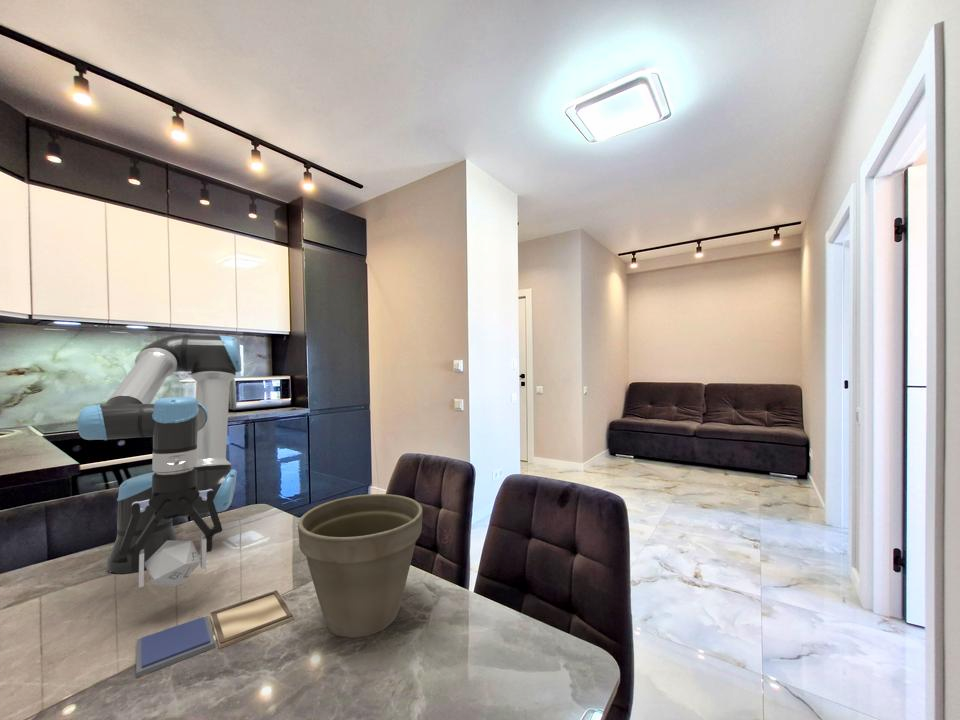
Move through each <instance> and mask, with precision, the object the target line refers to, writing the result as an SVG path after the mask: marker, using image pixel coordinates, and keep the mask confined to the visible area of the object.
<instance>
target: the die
mask: <svg viewBox="0 0 960 720" xmlns="http://www.w3.org/2000/svg"><path fill="white" fill-rule="evenodd" d="M201 562H202V560H201V555H200V554H199V552H198V551H197V549H196V546H195V544H194V543H193V540H178V541H169V540H167V541H166V542H165V543H164V544H163V545H162V546H161V547H160V548H159V549H158V550H157V551H156V552H155V553H154V554H153V555H152V556H151V557H150V558H149V559H148V560H147V561H146V562H145V563H144V565H145V567H146V569H145V570H146V571H147V573H148V575H149V577H150V579H151V580H152V583H153V585H154V586H181V585H182V584H183V583H184V582H185V581H186V580H187V579H188V577H189V576H190V575H191V574H192V573H193V572H194V571H195V569H197V567H198V566H199V565H201Z"/></svg>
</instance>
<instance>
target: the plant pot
mask: <svg viewBox="0 0 960 720" xmlns="http://www.w3.org/2000/svg"><path fill="white" fill-rule="evenodd" d="M422 528H423V507H422V505H421V504H420V502H418V501H417V500H415V499H413V498H410V497H407V496H404V495H398V494H390V493H389V494H388V493H371V494H370V493H368V494H366V493H365V494H358V495H357V494H356V495H352V496H351V495H350V496H346V497H342V498H337V499H334V500H330V501H327V502H324V503H321V504H318V505H317V506H314V507H313V508H312V509H309V510H308V511H306V512H305V513H304V514H303V515H302V516H301V517H300V518H299V520H298V522H297V533H298V542H299V543H298V545H299V549H300V552H301V553H302V554H303V555H304V556H305V557H306V561H307V565H308V569H309V571H310V572H309V573H310V576H311V579H312V583H313V587H314V589H315V593H316V596H317V597H316V598H317V600H318V603H319V606H320V610H321V613H322V616H323V619H324V623H325V625H326V627H327V629H328V631H329V632H330V633H332V634H334V635H335V636H338V637H341V638H349V639H350V638H351V639H352V638H353V639H355V638H356V639H357V638H363V637H368V636H371V635H374V634H377V633H379V632H382V631H383V630H385V629H386V628H388V627H389V626H390V625H391V624H392V623H393V622H394V621H395V619H396V618H397V617H398V615H399V612H400V608H401V605H402V600H403V596H404V592H405V588H406V585H407V579H408V576H409V572H410V568H411V563H412V559H413V556H414V555H413V554H414V550H415V546H416V542H417V541H418V539H419V538H420V536H421V534H422Z"/></svg>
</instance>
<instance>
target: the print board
mask: <svg viewBox="0 0 960 720" xmlns="http://www.w3.org/2000/svg"><path fill="white" fill-rule="evenodd" d="M209 619H210V621H211V622H210V624H211V625H212V626H211V627H212V630H213V634H214V635H215V639H216V640H215V641H216V643H217V647H218V649H219V650H220V649H223V648H225V647H228V646H230V645H233V644H236V643H238V642H241V641H243V640H246V639H248V638H251V637H253V636H256V635H259V634H261V633H264V632H266V631H269V630H271V629H274V628H277V627H279V626H281V625H284V624H287V623H289V622H292V621H294V620H295V616H294V614H293V612H292V611H291V610H290V608H289V607H288V605H287V603H286V602H285V600H284V598H283V597H282V595H281V594H280V592H279V591H278V590H273V591H269V592H267V593H264V594H261V595H258V596H255V597H252V598H249V599H246V600H243V601H240V602H237V603H234V604H231V605H228V606H225V607H222V608H219V609H217V610H213V611H211V612H210V613H209Z"/></svg>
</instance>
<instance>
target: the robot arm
mask: <svg viewBox="0 0 960 720" xmlns="http://www.w3.org/2000/svg"><path fill="white" fill-rule="evenodd" d="M134 364H135V365H134V366H133V367H132V368H131V370H130V371H129V372H128V374H127V375H126V376H125V377H124V379H123V380H122V382H120V384H119V386H118V387H117V388H116V389H115V391H114V392H113V393H112V394H111V395H110V397H109V398H108V400H107V401H106V402H105V403H104V404H95V405H87V406H85V407H83V408H82V409H81V411H79V414H78V416H77V423H76V427H77V431H78V435H79V436H80V438H82V439H83V440H86V441H87V440H88V441H95V440H101V441H102V440H103V441H108V440H118V439H119V440H121V439H135V438H152V463H151V464H152V465H151V466H152V471H153V472H147V473H143V474H139V475H137V476H132V477H129V478H128V479H126V480H124V481H122V482H121V484H120V485H119V487H118V497H117V498H116V501H117V518H116V519H117V522H116V523H117V524H116V526H117V528H116V529H117V530H116V539H115V541H114V544H113V546H112V548H111V551H110V553H109V555H108V558H107V561H106V571H107V570H108V572H109V571H111V572H115V573H114V574H128V573H130V574H131V573H135V572H138V588H139V589H140V588H143V587H145V586H144V585H145V584H144V583H145V570H147V569H146V567H145V565H144V563H145V562H146V561H147V560H148V559H149V558H150V557H151V556H152V555H153V554H154V553H155V552H156V551H157V550H158V549H159V548H160V547H161V546H162V545H163V544H164V543H165V542H166V541H167V540H169V541H179V539H178V536H177V534H176V531H175V530H174V527H173V524H174V523H173V519H176V518H185V517H190V518H191V520H192V521H193V523H195V524H196V526H198V528H199V529H200V531H201V532H202V533H203V535H200V558H201V560H202V562H201V563H200V568H201V570H202V571H204V570H206V569H207V553H209V552H212V550H213V537H214V536H215V535H216V534H219V533H221V532H223V527H222V523H221V521H220V517H219V514H218V512H224V511H226V510H228V509H229V507H230V506H231V504H232V501H233V498H234V494H235V490H236V483H237V475H238V474H237V473H238V472H237V470H236V469H234V468H232V462H230V461H228V460H227V442H228V441H227V440H228V423H229V422H228V421H229V401H230V383H231V382H232V381H234V380H235V379H236V377H237V376H236V375H237V373H239V372H242V359H241V351H240V346H239V342H238V339H237V338H236V337H234V336H231V335H221V334H220V335H214V334H213V335H211V334H210V335H209V334H207V335H206V334H186V333H184V334H183V333H181V334H180V333H179V334H172V335H168V336H165V337H163V338H159V339H156V340H155V341H152V342H151V343H149V344H147V345H146V346H144V347H143V348H142V349H141V350H140V351H139V352H138V353H137V354H136V357H135V360H134ZM180 372H185V373H190V374H191V376H190V377H191V378H192V379H193V380H194V381H195V382H196V389H195V397H192V396H174V397H173V396H172V397H170V396H169V397H161V398H158V399H157V400H155V401H154V403H152V402H153V400H154V399H155V397H156V396H157V394H158V392H159V391H160V388H161V387H162V386H163V384H164V382H165V381H166V379H167V378H168V377H170V376H171V375H173V374H174V373H180ZM206 514H208V515H209V516H210V518H211V522H212V524H213V527H209V525H208V524H207V522H205V520H204V518H203V517H202V515H206ZM111 572H110V573H111Z"/></svg>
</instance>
